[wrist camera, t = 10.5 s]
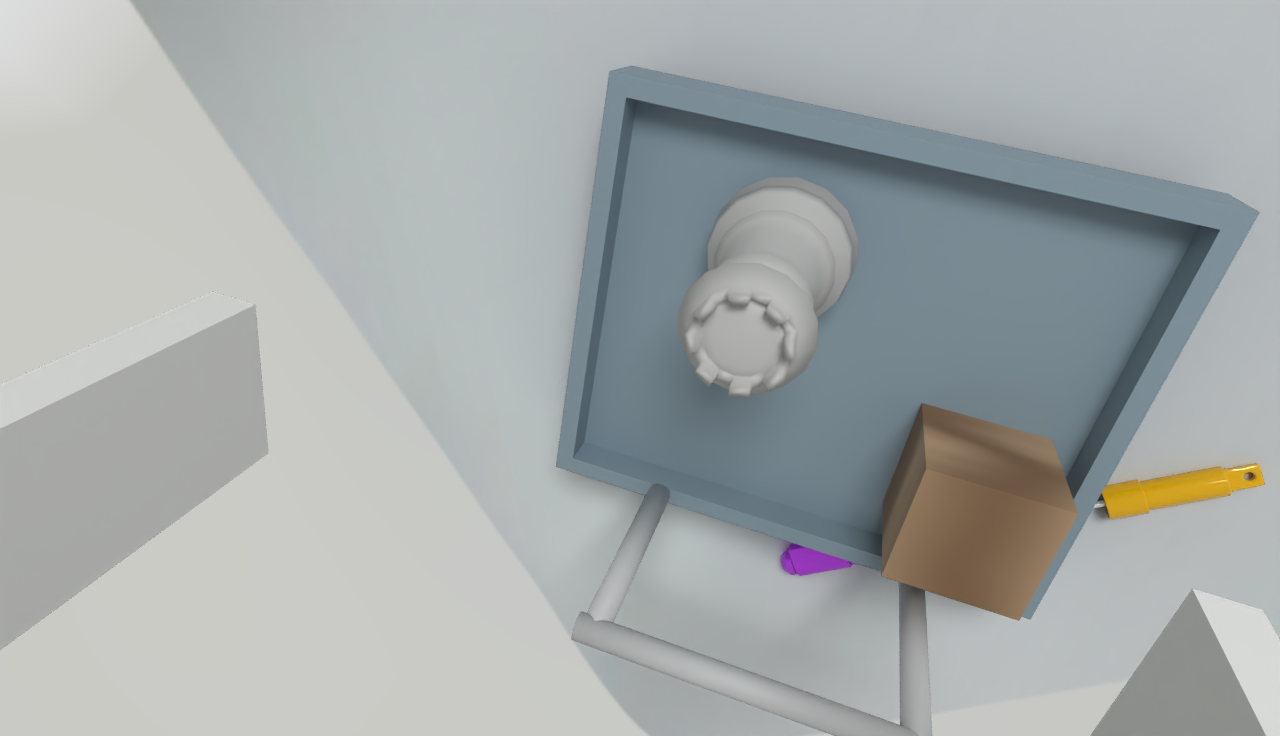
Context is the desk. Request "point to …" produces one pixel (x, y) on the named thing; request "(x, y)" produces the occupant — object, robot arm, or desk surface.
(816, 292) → the rook chess piece
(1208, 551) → the desk surface
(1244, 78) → the desk surface
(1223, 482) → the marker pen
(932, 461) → the walnut block
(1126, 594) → the desk surface
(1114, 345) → the tray
